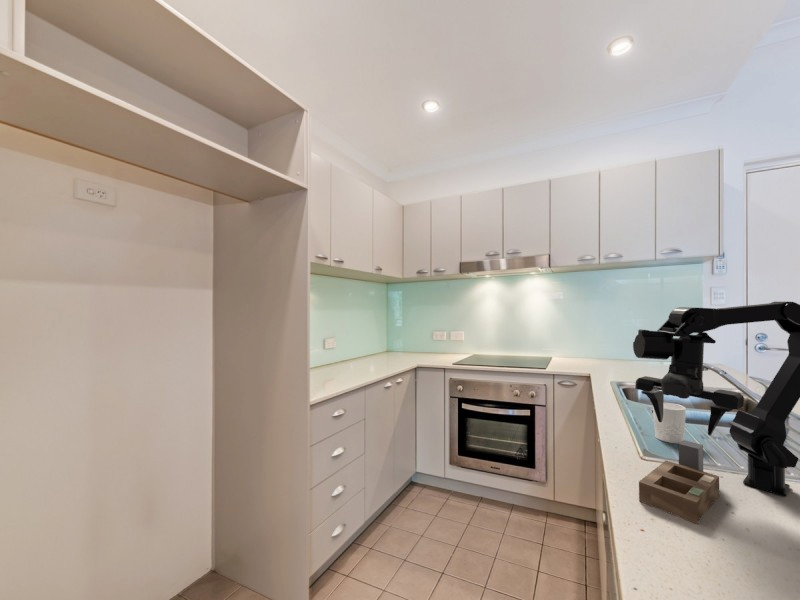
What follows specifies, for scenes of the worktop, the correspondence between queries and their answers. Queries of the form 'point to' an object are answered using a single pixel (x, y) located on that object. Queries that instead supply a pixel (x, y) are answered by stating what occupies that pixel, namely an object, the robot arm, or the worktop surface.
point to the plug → (691, 455)
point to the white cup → (670, 423)
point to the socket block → (679, 490)
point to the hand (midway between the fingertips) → (683, 428)
